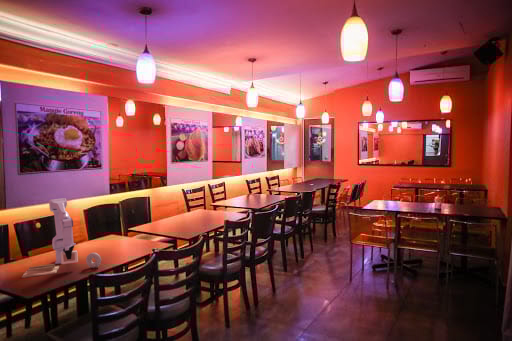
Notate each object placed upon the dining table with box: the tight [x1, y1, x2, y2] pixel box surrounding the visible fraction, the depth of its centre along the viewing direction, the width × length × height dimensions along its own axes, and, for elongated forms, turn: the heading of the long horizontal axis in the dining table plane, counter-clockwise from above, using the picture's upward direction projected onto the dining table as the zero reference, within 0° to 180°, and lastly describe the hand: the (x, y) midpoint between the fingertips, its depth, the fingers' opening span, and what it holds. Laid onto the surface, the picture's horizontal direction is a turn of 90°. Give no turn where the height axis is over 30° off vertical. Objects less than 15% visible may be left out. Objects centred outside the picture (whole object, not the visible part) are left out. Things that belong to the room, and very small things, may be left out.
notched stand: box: [21, 263, 60, 279], centre depth 216 cm, size 12×18×4 cm, turn 111°
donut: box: [85, 252, 102, 269], centre depth 221 cm, size 10×4×10 cm, turn 83°
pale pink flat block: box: [60, 250, 79, 265], centre depth 218 cm, size 3×9×7 cm, turn 110°
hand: (69, 258), depth 218 cm, fingers closed on pale pink flat block, 2 cm apart
